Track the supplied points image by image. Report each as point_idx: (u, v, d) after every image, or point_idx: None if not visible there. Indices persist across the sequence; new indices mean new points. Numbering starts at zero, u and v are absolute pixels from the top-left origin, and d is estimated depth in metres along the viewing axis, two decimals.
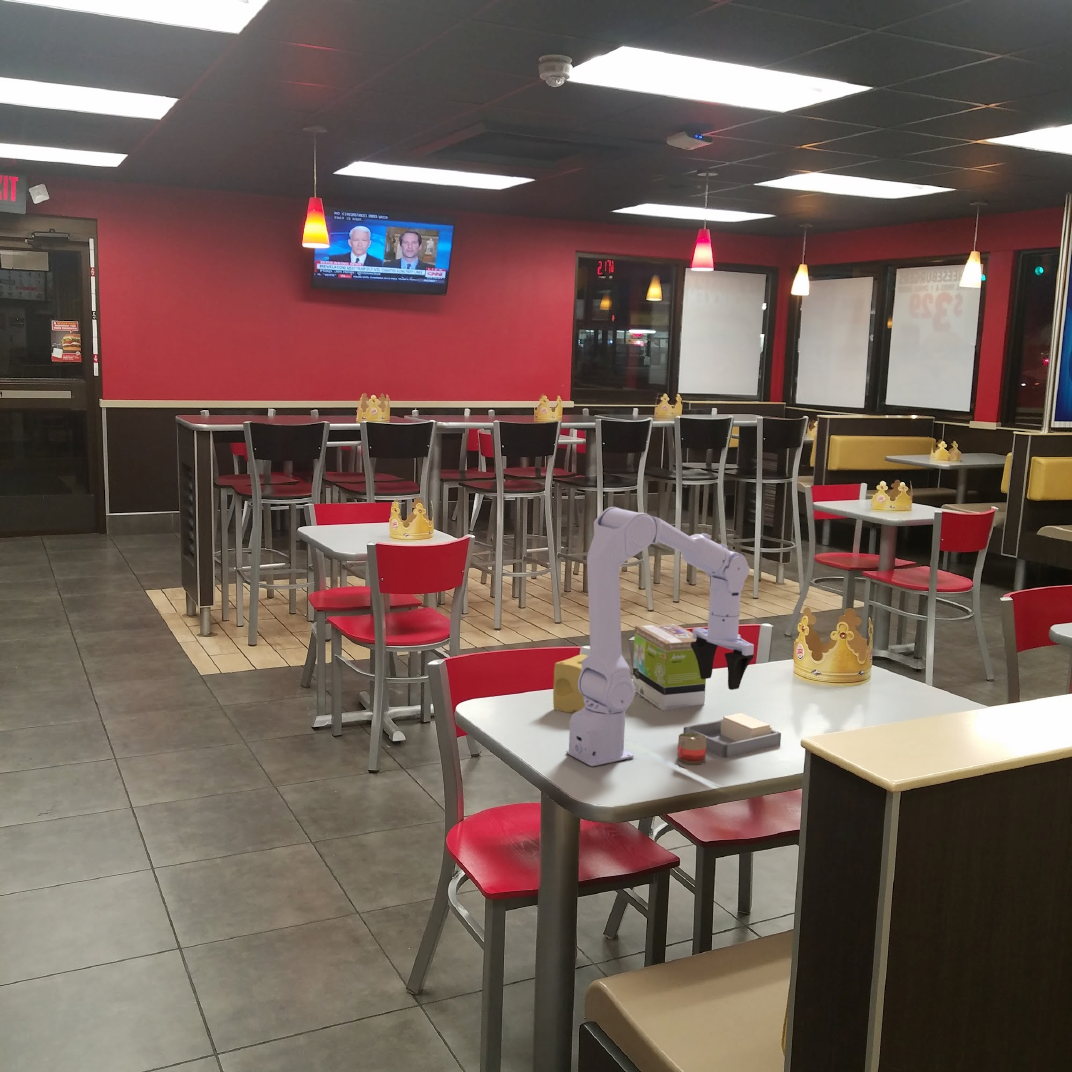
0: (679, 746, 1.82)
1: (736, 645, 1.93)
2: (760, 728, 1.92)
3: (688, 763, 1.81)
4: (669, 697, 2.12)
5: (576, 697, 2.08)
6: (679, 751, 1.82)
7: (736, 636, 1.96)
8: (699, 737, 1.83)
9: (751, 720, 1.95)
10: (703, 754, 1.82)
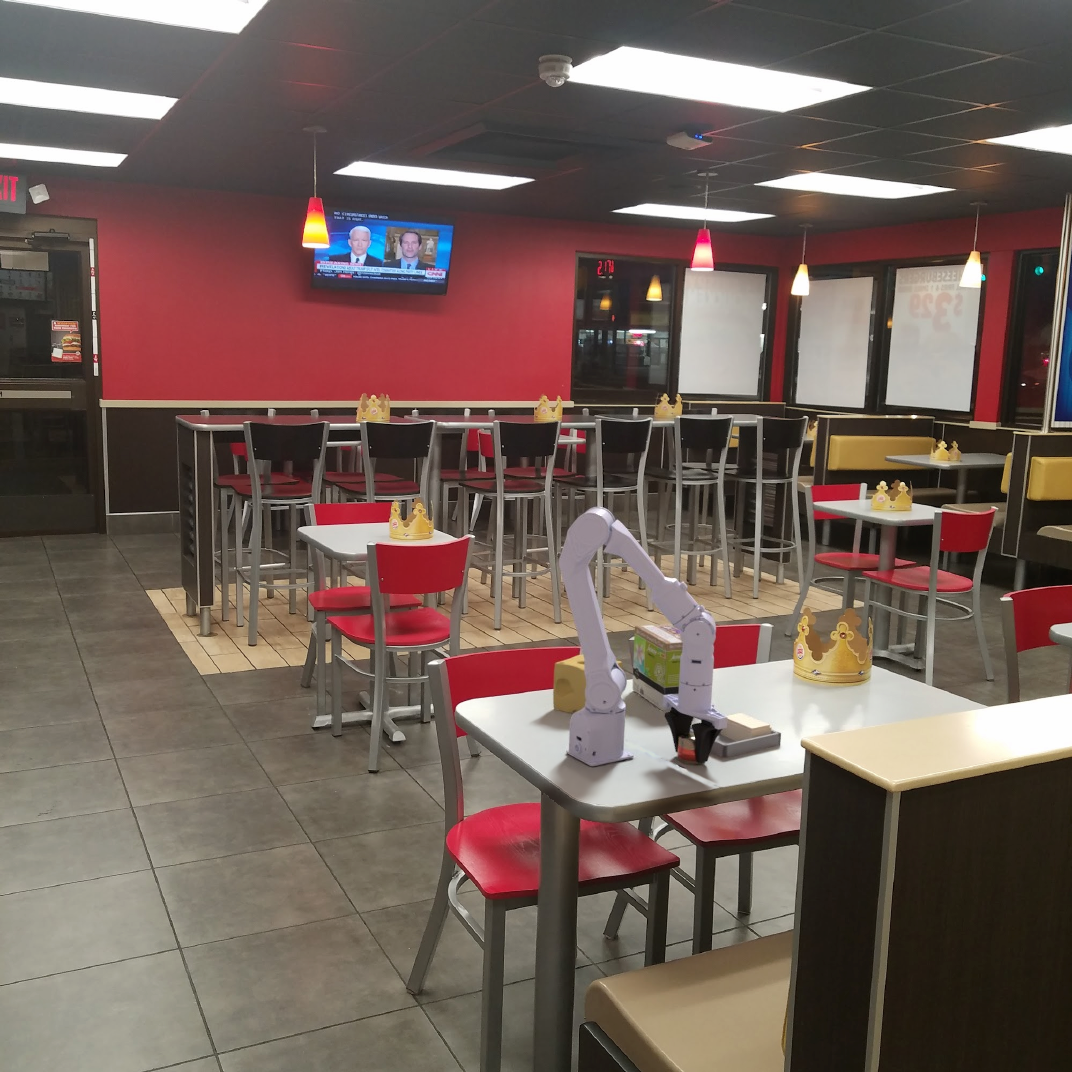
0: (679, 746, 1.82)
1: (708, 717, 1.77)
2: (760, 728, 1.92)
3: (688, 763, 1.81)
4: None
5: (576, 697, 2.08)
6: (679, 751, 1.82)
7: (709, 706, 1.80)
8: None
9: (751, 720, 1.95)
10: None
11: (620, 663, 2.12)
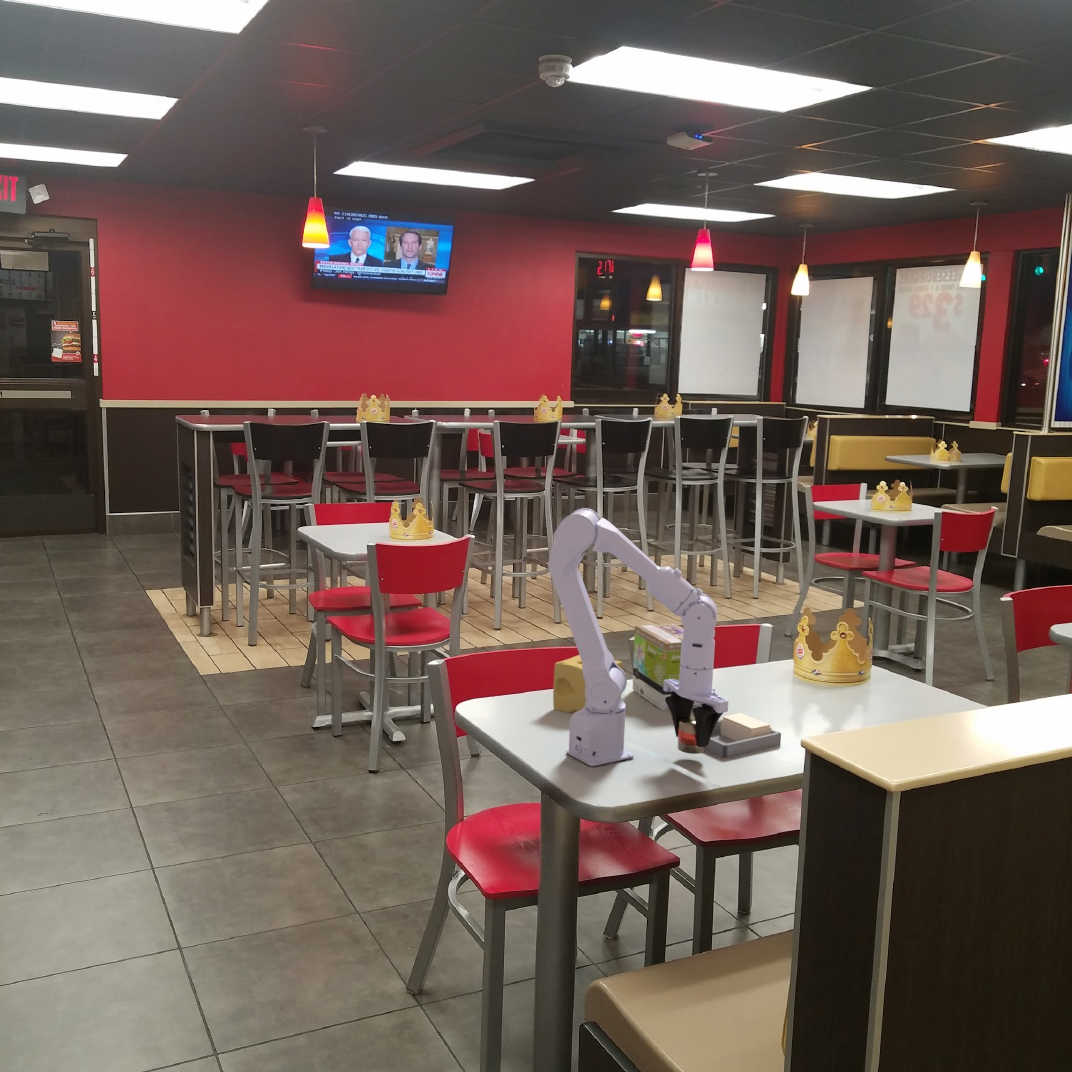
0: (680, 730, 1.82)
1: (709, 701, 1.77)
2: (760, 728, 1.92)
3: (688, 747, 1.81)
4: None
5: (576, 697, 2.08)
6: (680, 735, 1.82)
7: (710, 690, 1.80)
8: None
9: (751, 720, 1.95)
10: None
11: (620, 663, 2.12)
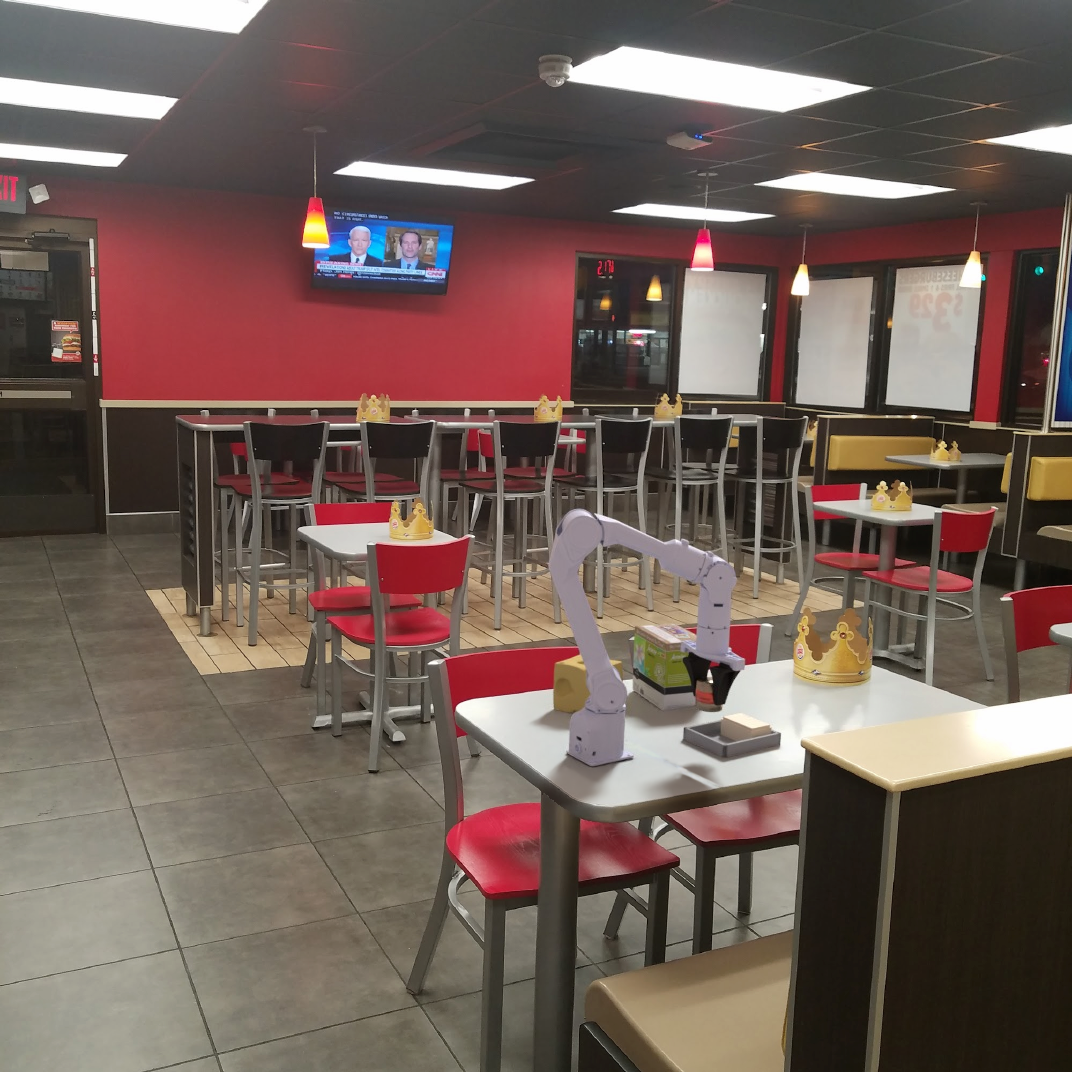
0: (697, 689, 1.85)
1: (726, 660, 1.80)
2: (760, 728, 1.92)
3: (706, 706, 1.84)
4: (669, 697, 2.12)
5: (576, 697, 2.08)
6: (697, 694, 1.85)
7: (726, 650, 1.83)
8: None
9: (751, 720, 1.95)
10: None
11: (620, 663, 2.12)
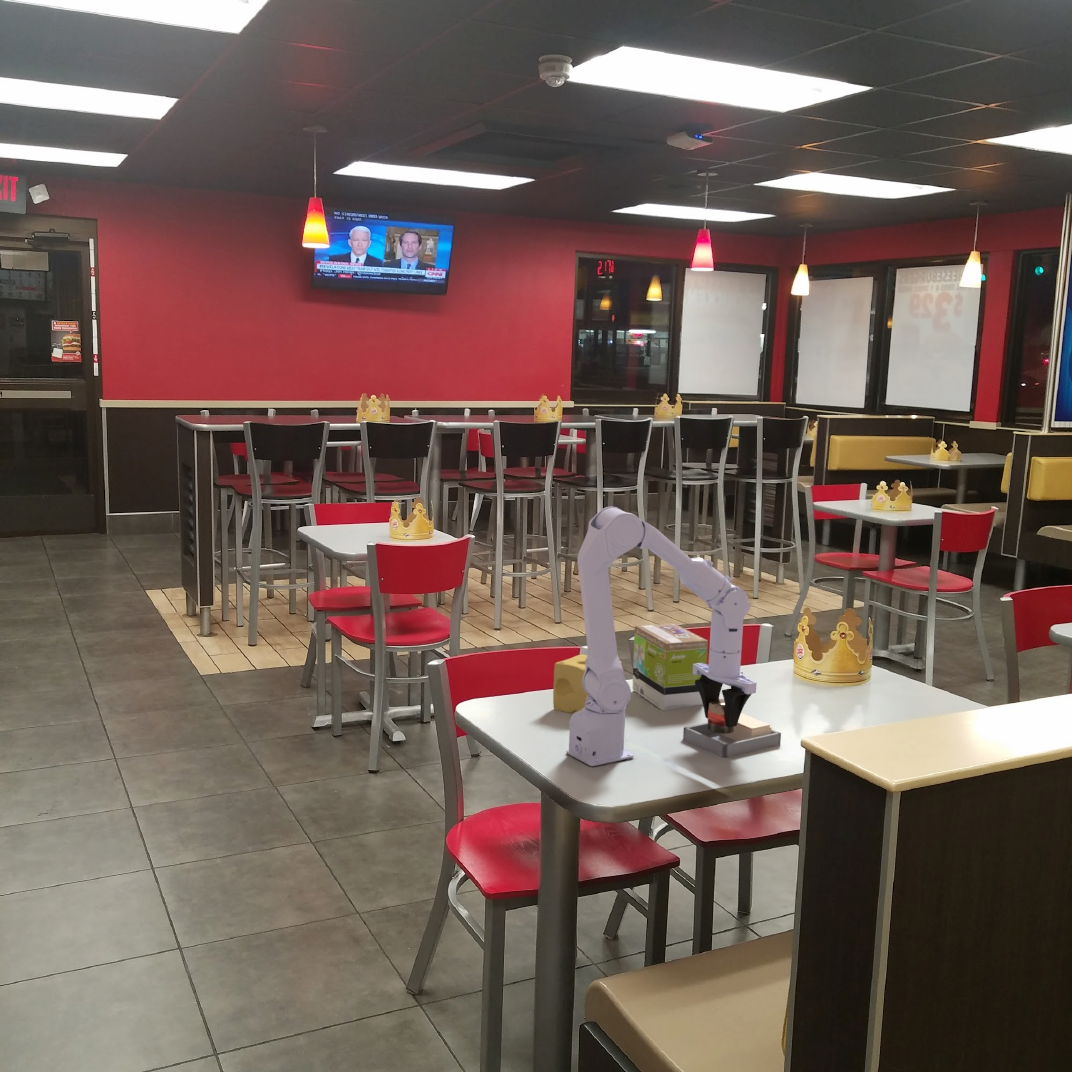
0: (709, 711, 1.90)
1: (738, 683, 1.85)
2: (760, 728, 1.92)
3: (718, 727, 1.89)
4: (669, 697, 2.12)
5: (576, 697, 2.08)
6: (709, 716, 1.90)
7: (738, 673, 1.88)
8: None
9: (751, 720, 1.95)
10: None
11: None
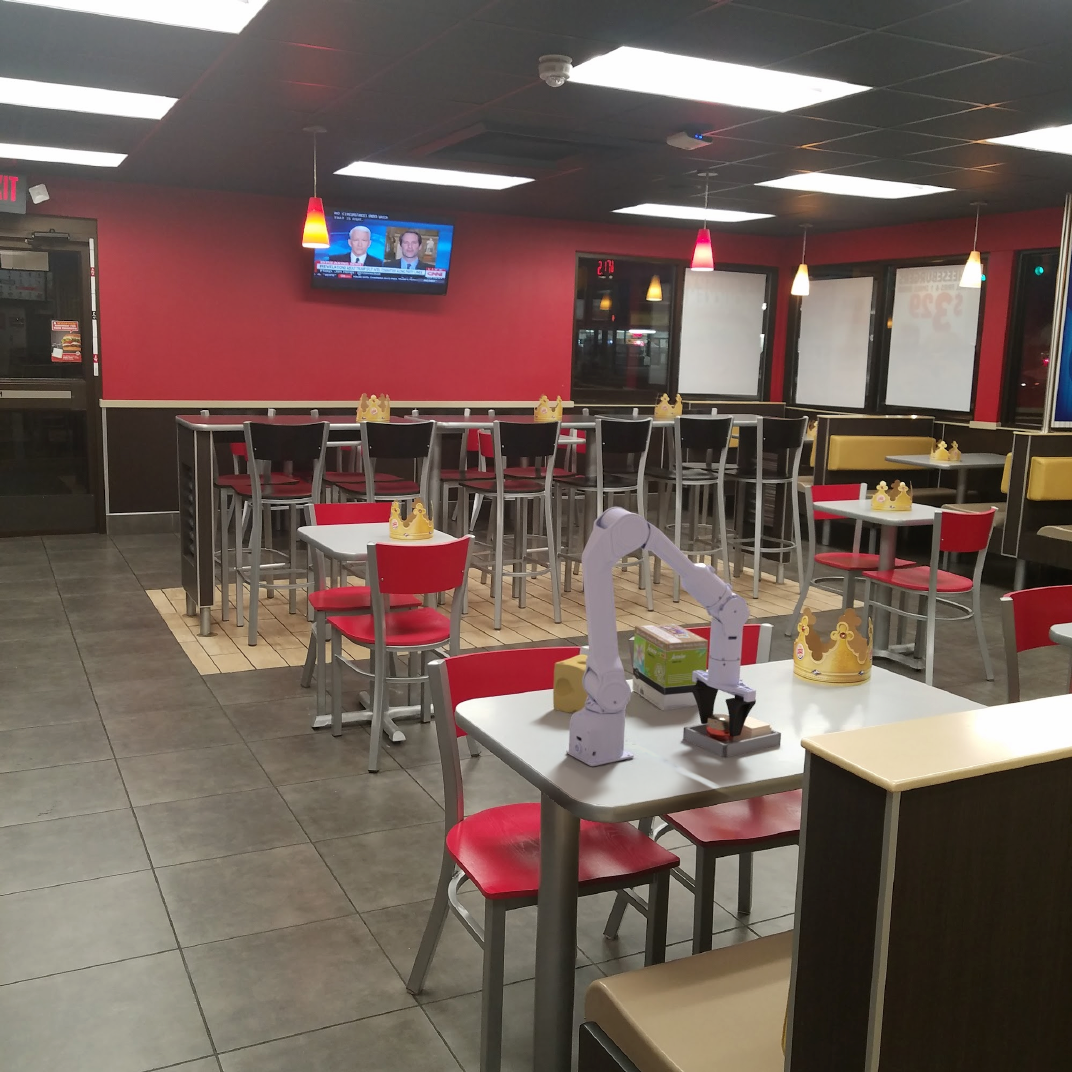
0: (708, 726, 1.91)
1: (737, 691, 1.85)
2: (760, 728, 1.92)
3: None
4: (669, 697, 2.12)
5: (576, 697, 2.08)
6: (708, 731, 1.91)
7: (737, 681, 1.88)
8: (727, 718, 1.91)
9: (751, 720, 1.95)
10: None
11: None
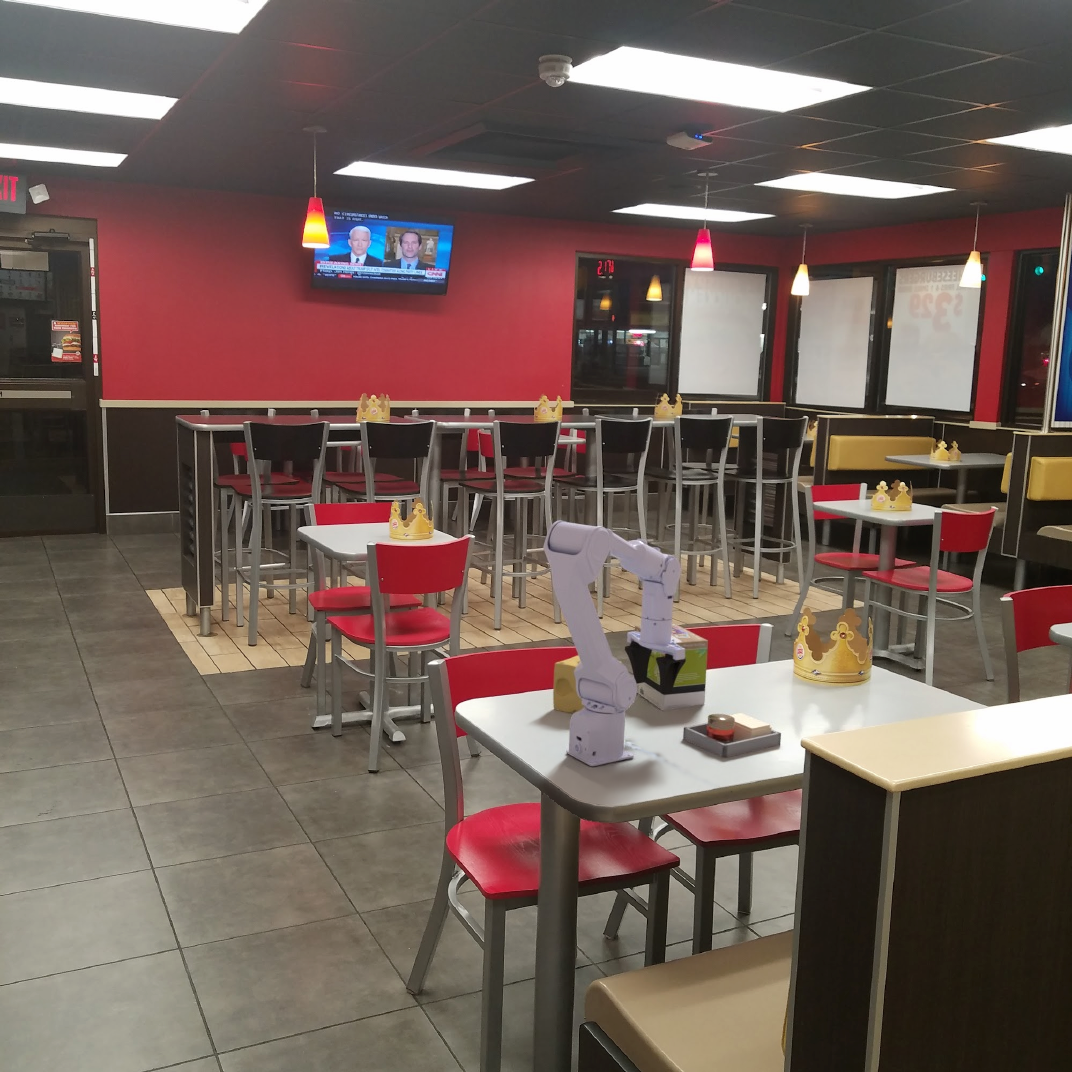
0: (709, 726, 1.91)
1: (667, 649, 1.90)
2: (760, 728, 1.92)
3: None
4: (669, 697, 2.12)
5: (576, 697, 2.08)
6: (708, 731, 1.91)
7: (668, 640, 1.93)
8: (727, 718, 1.91)
9: (751, 720, 1.95)
10: (732, 734, 1.90)
11: None
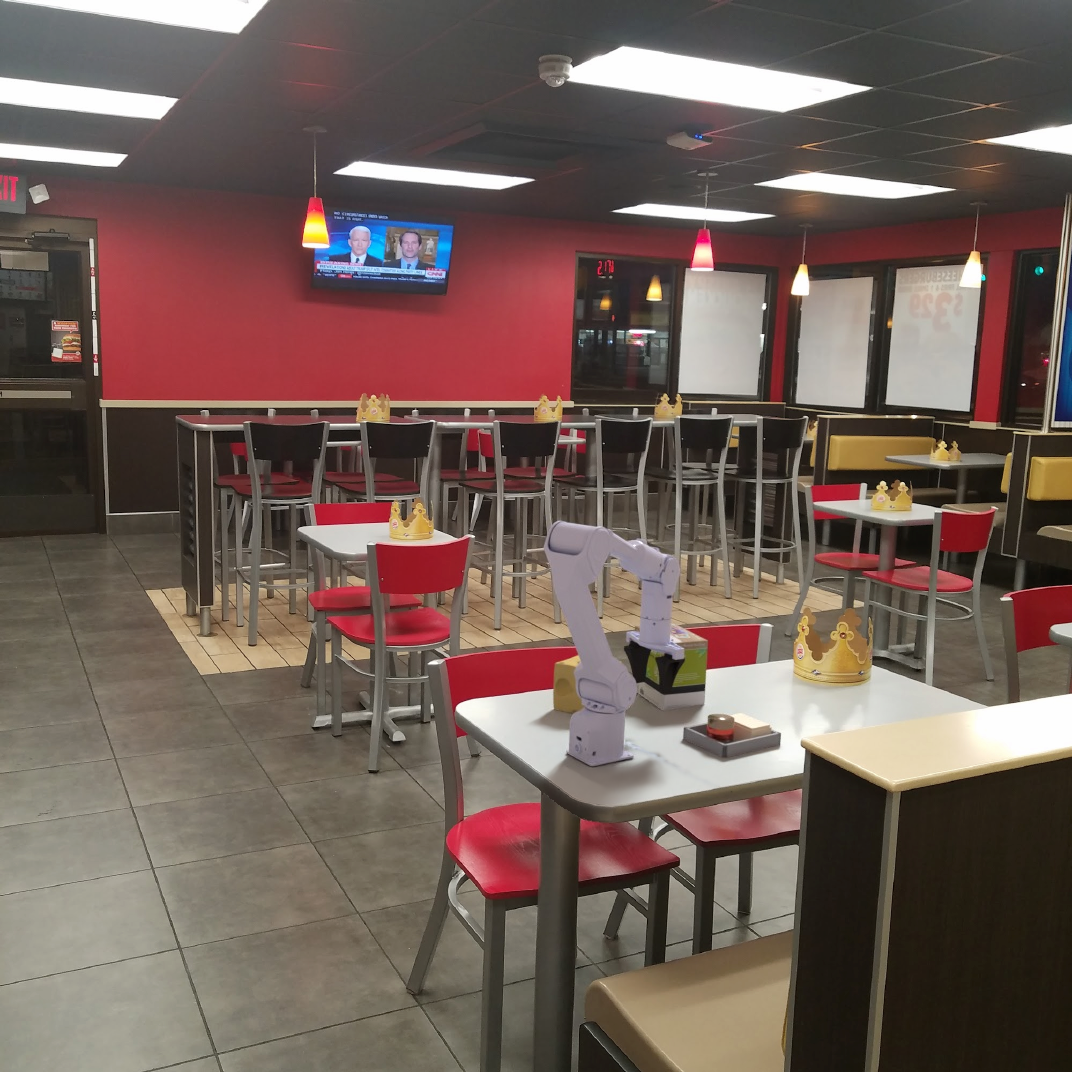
0: (708, 726, 1.91)
1: (666, 649, 1.90)
2: (760, 728, 1.92)
3: None
4: (669, 697, 2.12)
5: (576, 697, 2.08)
6: (708, 731, 1.91)
7: (668, 640, 1.93)
8: (727, 718, 1.91)
9: (751, 720, 1.95)
10: (732, 734, 1.90)
11: None
